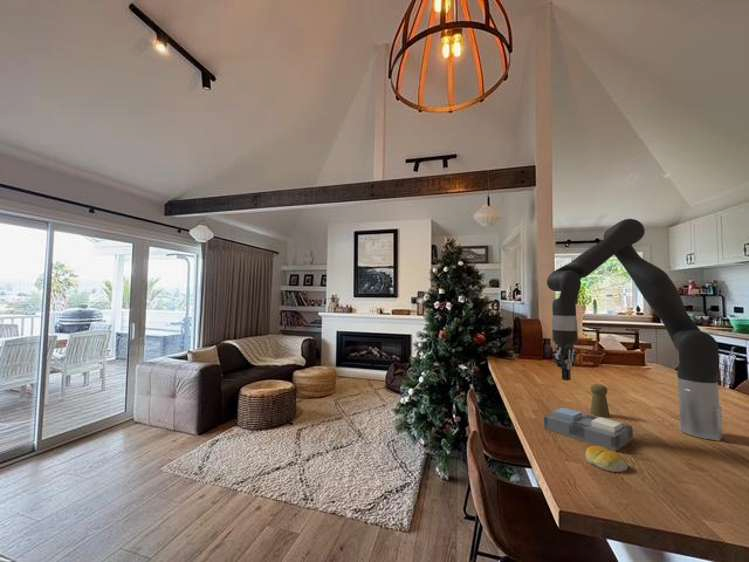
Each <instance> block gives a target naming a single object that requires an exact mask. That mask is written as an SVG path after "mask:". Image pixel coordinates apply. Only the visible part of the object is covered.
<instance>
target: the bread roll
mask: <svg viewBox="0 0 749 562" xmlns="http://www.w3.org/2000/svg"><path fill="white" fill-rule="evenodd" d="M584 454H585V456H584V458H585V460H586V461H587V462H588V463H589V464H591V465H593V466H595V467H597V468H598V469H601V470H603V471H607V472H611V473H618V472H619V473H621V472H624V471H626V470H628V462H627V460H626V458H624V456H622V455H621V454H620V453H618V451H616V452H615V451H612V450H609V449H607V448H605V447H602V446H596V445H592V446H589V447H587V448H586V450H585V453H584Z"/></svg>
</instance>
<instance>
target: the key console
mask: <svg viewBox="0 0 749 562" xmlns="http://www.w3.org/2000/svg"><path fill="white" fill-rule="evenodd" d="M543 418H544V419H543V421H544V422H543V424H544V429H545V430H547V429H548V430H547V431H550V430H551V431H550V432H553V431H554V433H556V432H557V433H556V434H559V433H560V434H559V435H562V434H563V436H566V437H569V438H572V439H575V440H578V441H581V440H582V441H581V442H584V441H585V442H584V443H587V442H588V443H587V444H591V445H592V446H602V447H605V448H607V449H608V450H610V451H614V452H618V451H619V450H620V449H622V448H623V447H625V446H626V445H628V444H629V443H631V442H632V441H633V440H634V438H633V437H634V435H633V434H634V433H633V432H634V431H633V425H628V424H625V423H622V429H621V430H620V431H618V432H616V433H613V432H610V431H606V430H603V429H599V428H596V427H592V426H591V421H592V420H594V419H596V418H598V416H595V415H592V414H587V413H582V418H580V419H578V420H576V421H571V420H568V419H564V418H561V417H557V416H554V412H552V413H549V414H547V415H544V416H543ZM631 440H632V441H631ZM628 442H629V443H628Z"/></svg>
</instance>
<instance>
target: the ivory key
mask: <svg viewBox="0 0 749 562" xmlns="http://www.w3.org/2000/svg"><path fill="white" fill-rule="evenodd" d="M597 417H598V416H597ZM622 424H623V422H620V421H616V420H612V419H609V418H606V417H598V418H596V419H594V420H592V421H591V426H592V427H596V428H599V429H603V430H606V431H610V432H613V433H616V432H618V431H620V430H621V429H622Z"/></svg>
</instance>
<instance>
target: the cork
mask: <svg viewBox="0 0 749 562" xmlns="http://www.w3.org/2000/svg"><path fill="white" fill-rule="evenodd" d="M590 391H591V392H592V397H591V398H592V399H591V407H590V415H592V414H593V415H592V416H595V417H598V416H599V417H602V418H610V417H611V415H610V410H609V405H608V399H607V394H608V387H607V386H606V385H603V384H599V383H597V384H592V385H590Z"/></svg>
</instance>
